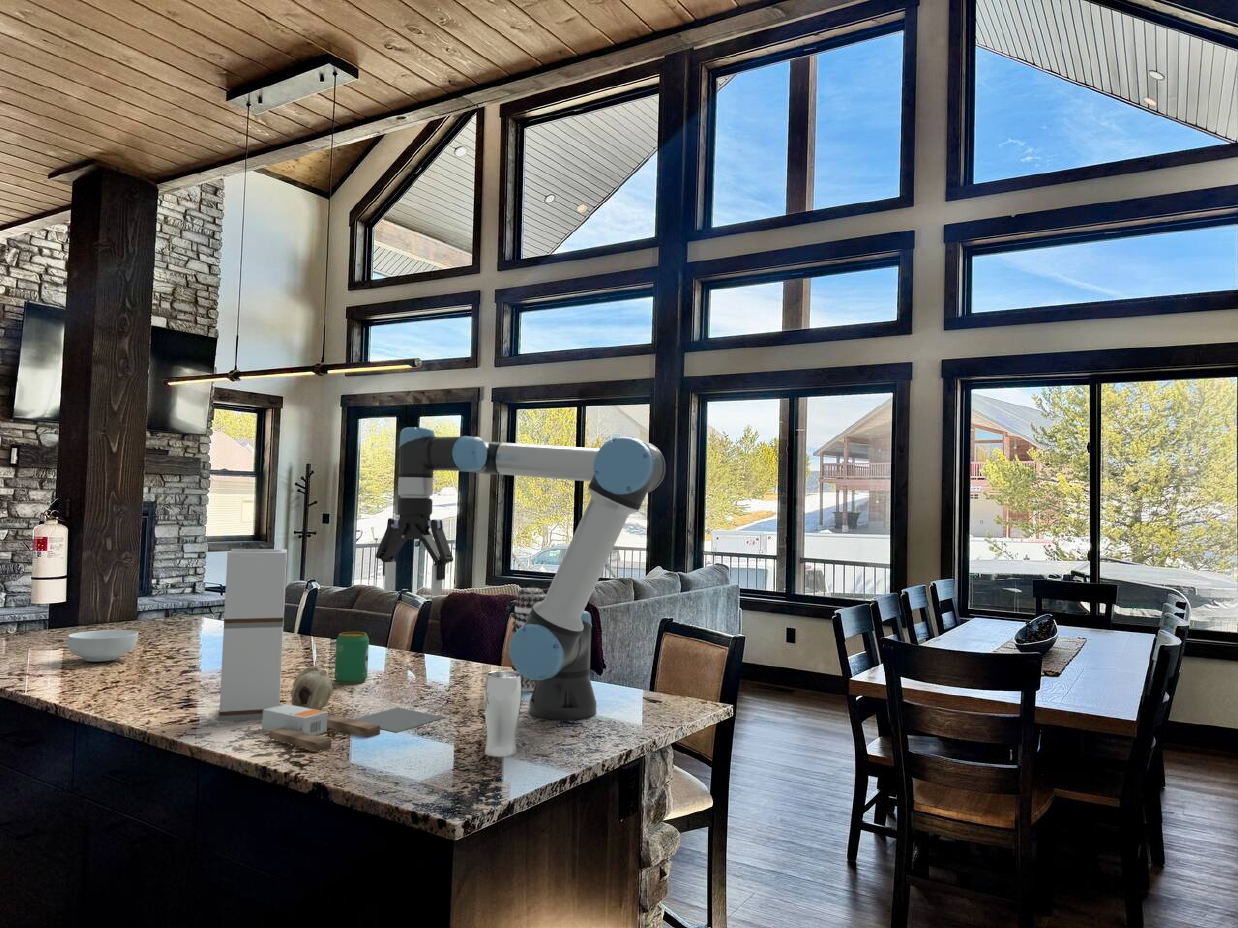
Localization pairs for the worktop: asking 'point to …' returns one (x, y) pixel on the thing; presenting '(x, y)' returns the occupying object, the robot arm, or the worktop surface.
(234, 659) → the white tall block
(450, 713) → the worktop surface
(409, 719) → the charcoal mat
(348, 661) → the beverage can
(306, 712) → the skincare box
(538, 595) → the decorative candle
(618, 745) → the worktop surface
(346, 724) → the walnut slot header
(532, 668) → the robot arm
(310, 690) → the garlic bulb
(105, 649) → the cereal bowl
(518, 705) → the beer glass
